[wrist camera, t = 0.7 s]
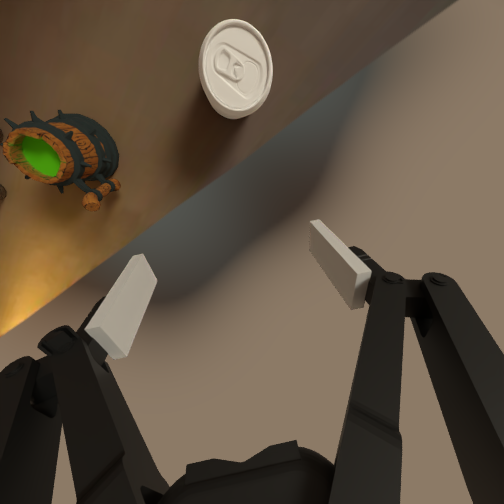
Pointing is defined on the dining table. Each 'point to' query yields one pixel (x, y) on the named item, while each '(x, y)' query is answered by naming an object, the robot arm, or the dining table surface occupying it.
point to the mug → (65, 154)
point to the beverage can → (235, 68)
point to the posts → (0, 190)
